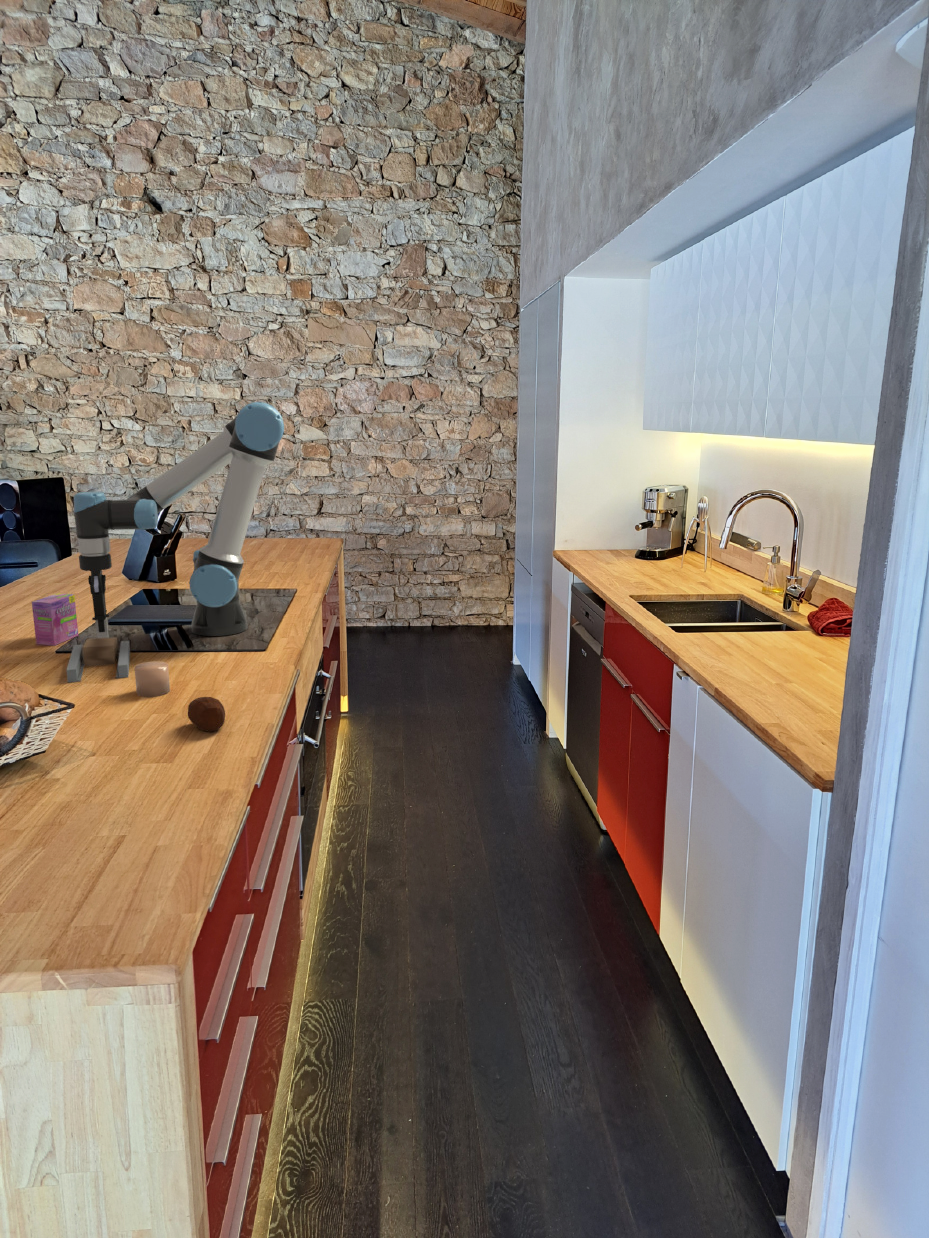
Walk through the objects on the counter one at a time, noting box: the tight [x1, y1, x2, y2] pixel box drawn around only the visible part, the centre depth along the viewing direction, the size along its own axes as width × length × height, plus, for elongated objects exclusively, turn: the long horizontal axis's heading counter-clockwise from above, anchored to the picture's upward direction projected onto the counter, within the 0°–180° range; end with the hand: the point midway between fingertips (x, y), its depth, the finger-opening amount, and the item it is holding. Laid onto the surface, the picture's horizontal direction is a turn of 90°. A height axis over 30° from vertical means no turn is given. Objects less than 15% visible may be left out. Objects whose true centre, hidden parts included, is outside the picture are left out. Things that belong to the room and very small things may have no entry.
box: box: [31, 592, 79, 647], centre depth 233 cm, size 10×6×12 cm, turn 168°
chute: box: [66, 640, 131, 684], centre depth 211 cm, size 13×22×3 cm, turn 19°
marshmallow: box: [134, 660, 171, 698], centre depth 193 cm, size 7×7×6 cm
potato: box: [187, 696, 226, 733], centre depth 172 cm, size 7×9×6 cm
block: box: [82, 636, 119, 668], centre depth 216 cm, size 7×8×5 cm
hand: (103, 642), depth 227 cm, fingers closed
